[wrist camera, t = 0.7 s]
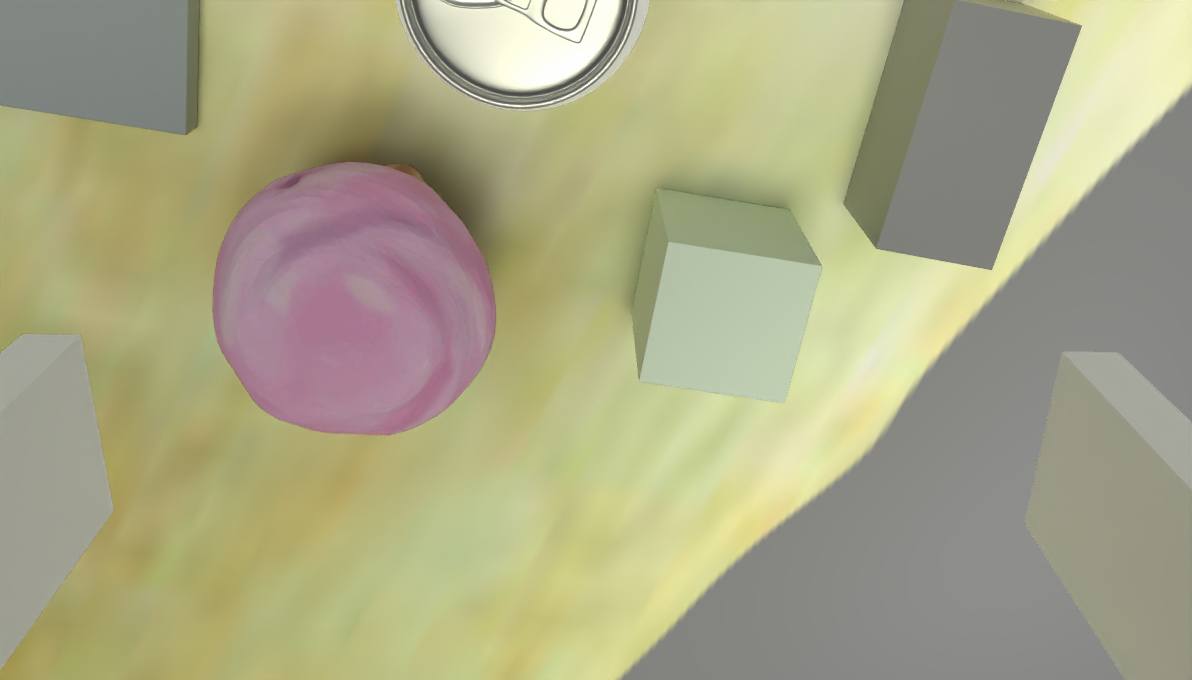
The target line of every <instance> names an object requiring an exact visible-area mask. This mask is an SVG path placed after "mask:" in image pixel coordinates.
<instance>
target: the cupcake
mask: <svg viewBox="0 0 1192 680" xmlns="http://www.w3.org/2000/svg"><path fill="white" fill-rule="evenodd" d="M213 319H214V328H215V333H216V337H217V341H218V344H219V346H220V348H221V351H222V353H223V354H224V356H225V358H226V359H227V361H228V362H229V364H230V365H231V367H232V368H233V370H234V371H235V373H236V375H237V376H238V378H239V379H240V381H241V382H242V384H243V386H244V387H245V389H246V390H247V392H248V393H249V395H250V396H251V398H252V399H253V400H254V402H255V403H256V404H257V405H258V406H259V407H260V408H261V409H263V410H264V411H265V412H267V413H268V414H270V415H272V416H273V417H275V418H277V419H278V420H282V421H285V422H288V423H291V424H295V425H298V426H301V427H304V428H307V429H311V430H315V431H319V432H326V433H344V434H365V435H391V434H395V433H399V432H403V431H407V430H409V429H411V428H414V427H416V426H419V425H421V424H423V423H425V422H426V421H428V420H430V419H432V418H433V417H435V416H437V415H438V414H440V413H441V412H442V411H444V410H445V409H446V408H448V407H449V406H450V405H451V404H452V403H453V402H454V401H455V399H456V398H457V397H458V396H459V395H460V394H461V393H462V392H463V391H464V390H465V388H466V387H467V386H468V385H469V384H470V383H471V382H472V380H473V379H474V378H475V376H476V375H477V374H478V372H479V371H480V369H481V368H482V366H483V364H484V362H485V361H486V359H487V356H488V354H489V352H490V349H491V347H492V343H493V339H494V335H495V326H496V306H495V298H494V292H493V287H492V282H491V278H490V274H489V270H488V267H487V264H486V262H485V259H484V257H483V254H482V252H481V251H480V249H479V247H478V246H477V244H476V243H475V241H474V239H473V238H472V236H471V234H470V233H469V231H468V229H467V228H466V226H465V225H464V224H463V222H462V221H461V220H460V219H459V217H458V216H457V215H456V214H455V213H454V212H453V211H452V210H451V209H450V208H449V207H448V205H447V204H446V203H445V202H444V200H443V199H442V198H441V197H440V196H439V195H438V194H437V193H436V192H435V191H434V190H433V189H432V188H431V187H430V186H428V185H427V184H426V183H425V181H424V179H423V178H422V176H421V175H420V173H419V172H418V171H417V170H416V169H415V168H413V167H411V166H409V165H406V164H391V165H387V166H382V165H377V164H372V163H366V162H343V163H334V164H328V165H324V166H319V167H315V168H312V169H308V170H305V171H302V172H298V173H295V174H291V175H288V176H285V177H282V178H280V179H277V180H275V181H274V182H272V183H271V184H269V185H268V186H266V187H265V188H264V189H262V190H261V191H260V192H259V193H257V194H256V195H255V196H254V197H253V198H252V199H251V200H249V201H248V202H247V204H246V205H245V206H244V207H243V208H242V209H241V211H240V212H239V213H238V214H237V216H236V218H235V219H234V221H233V222H232V224H231V226H230V228H229V230H228V232H227V234H226V236H225V238H224V241H223V243H222V246H221V249H220V252H219V255H218V259H217V264H216V270H215V277H214V288H213Z"/></svg>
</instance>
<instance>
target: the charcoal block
mask: <svg viewBox="0 0 1192 680" xmlns="http://www.w3.org/2000/svg"><path fill="white" fill-rule="evenodd" d="M1081 27H1082V26H1081V25H1079V24H1076V23H1073V22H1070V21H1068V20H1065V19H1062V18H1060V17H1057V16H1054V15H1051V14H1049V13H1046V12H1043V11H1040V10H1038V9H1035V8H1032V7H1030V6H1027V5H1024V4H1021V3H1016V2H1011V1H1006V0H904V4H903V7H902V10H901V14H900V17H899V20H898V24H897V27H896V30H895V34H894V37H893V40H892V44H891V47H890V50H889V54H888V57H887V60H886V64H885V67H884V70H883V74H882V77H881V80H880V84H879V87H878V90H877V94H876V97H875V100H874V104H873V107H872V110H871V114H870V117H869V120H868V124H867V127H866V130H865V134H864V137H863V140H862V144H861V147H860V150H859V154H858V157H857V160H856V164H855V167H854V170H853V174H852V177H851V180H850V184H849V187H848V190H847V194H846V197H845V200H844V205H845V207H846V208H847V209H848V211H849V212H850V213H851V215H852V216H853V218H854V219H855V220H856V222H857V223H858V224H859V226H860V227H861V229H862V230H863V231H864V233H865V234H866V235H867V237H868V238H869V240H870V241H871V242H872V244H873V245H874V246H875V248H876V249H881V250H886V251H892V252H897V253H902V254H908V255H913V256H919V257H924V258H930V259H935V260H940V261H946V262H951V263H957V264H962V265H967V266H973V267H978V268H984V269H989V270H992V268H993V266H994V263H995V260H996V257H997V255H998V252H999V249H1000V247H1001V244H1002V241H1003V238H1004V236H1005V233H1006V230H1007V228H1008V225H1009V222H1010V219H1011V217H1012V214H1013V211H1014V209H1015V206H1016V203H1017V200H1018V198H1019V195H1020V192H1021V190H1022V187H1023V184H1024V181H1025V179H1026V176H1027V173H1028V171H1029V168H1030V165H1031V163H1032V160H1033V157H1034V154H1035V152H1036V149H1037V146H1038V144H1039V141H1040V138H1041V135H1042V133H1043V130H1044V127H1045V125H1046V122H1047V119H1048V116H1049V114H1050V111H1051V108H1052V106H1053V103H1054V100H1055V97H1056V95H1057V92H1058V89H1059V87H1060V84H1061V81H1062V78H1063V76H1064V73H1065V70H1066V68H1067V65H1068V62H1069V59H1070V57H1071V54H1072V51H1073V49H1074V46H1075V43H1076V41H1077V38H1078V35H1079V32H1080V30H1081Z"/></svg>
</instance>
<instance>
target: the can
mask: <svg viewBox="0 0 1192 680" xmlns="http://www.w3.org/2000/svg"><path fill="white" fill-rule="evenodd" d="M395 3H396V7H397V11H398V14H399V17H400V20H401V23H402V25H403V28H404V30H405V32H406V34H407V36H408V38H409V40H410V42H411V44H412V45H413V47H414V49H415V50H416V52H417V53H418V55H419V56H420V57H421V59H422V60H423V61H424V62H425V64H426V65H427V66H428V67H429V68H430V69H431V70H432V71H433V72H434V73H435V74H436V75H437V76H438V77H439V78H440V79H441V80H442V81H444V82H445V83H446V84H447V85H449V86H450V87H452V88H453V89H455V90H456V91H458V92H459V93H461V94H463V95H465V96H467V97H468V98H471V99H473V100H475V101H477V102H480V103H483V104H485V105H489V106H492V107H496V108H500V109H506V110H514V111H536V110H544V109H550V108H554V107H558V106H561V105H564V104H567V103H570V102H572V101H575V100H577V99H579V98H581V97H583V96H585V95H587V94H588V93H590V92H591V91H593V90H594V89H596V88H597V87H599V86H600V85H601V84H603V83H604V82H605V81H606V80H607V79H608V78H609V77H611V76H612V74H613V73H614V72H615V71H616V70H617V69H618V68H619V67H620V66H621V64H622V63H623V62H624V61H625V59H626V58H627V56H628V55H629V53H630V52H631V50H632V49H633V47H634V45H635V43H636V41H637V39H638V37H639V35H640V33H641V30H642V28H643V25H644V22H645V19H646V16H647V12H648V8H649V3H650V0H395Z"/></svg>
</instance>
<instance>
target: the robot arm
mask: <svg viewBox="0 0 1192 680" xmlns="http://www.w3.org/2000/svg"><path fill="white" fill-rule="evenodd" d="M113 511H114V508H113V503H112V498H111V493H110V487H109V482H108V477H107V472H106V466H105V461H104V456H103V450H102V445H101V440H100V435H99V429H98V424H97V419H96V414H95V408H94V403H93V398H92V392H91V387H90V382H89V377H88V371H87V366H86V361H85V355H84V350H83V345H82V340H81V335H52V334H22V335H21V336H20V337H18V338H17V339H16V340H15V341H14V342H13V343H12V344H10V345H9V346H8V347H7V348H6V349H5V350H3V351H2V352H1V353H0V670H1V669H2V667H3V666H4V665H5V663H6V662H7V660H8V659H9V658H10V656H11V655H12V653H13V652H14V651H15V649H16V648H17V646H18V645H19V644H20V642H21V641H22V639H23V638H24V636H25V635H26V634H27V632H28V631H29V629H30V628H31V627H32V625H33V624H34V622H35V621H36V620H37V618H38V617H39V615H40V614H41V613H42V611H43V610H44V608H45V607H46V606H47V604H48V603H49V601H50V600H51V598H52V597H53V596H54V594H55V593H56V591H57V590H58V589H59V587H60V586H61V584H62V583H63V582H64V580H65V579H66V577H67V576H68V575H69V573H70V572H71V570H72V569H73V568H74V566H75V565H76V563H77V562H78V560H79V559H80V558H81V556H82V555H83V553H84V552H85V551H86V549H87V548H88V546H89V545H90V544H91V542H92V541H93V539H94V538H95V537H96V535H97V534H98V532H99V531H100V530H101V528H102V527H103V525H104V524H105V522H106V521H107V520H108V518H109V517H110V515H111V514H112V513H113ZM1025 525H1026V527H1027V528H1028V530H1029V532H1030V533H1031V535H1032V536H1033V538H1034V539H1035V541H1036V542H1037V544H1038V546H1039V547H1040V549H1041V550H1042V552H1043V553H1044V555H1045V556H1046V558H1047V559H1048V561H1049V563H1050V564H1051V566H1052V567H1053V569H1054V570H1055V572H1056V573H1057V575H1058V577H1059V578H1060V580H1061V581H1062V583H1063V584H1064V586H1065V587H1066V589H1067V591H1068V592H1069V594H1070V595H1071V597H1072V598H1073V600H1074V601H1075V603H1076V604H1077V606H1078V608H1079V609H1080V611H1081V612H1082V614H1083V615H1084V617H1085V618H1086V620H1087V622H1088V623H1089V625H1090V626H1091V628H1092V629H1093V631H1094V632H1095V634H1096V636H1097V637H1098V639H1099V640H1100V642H1101V643H1102V645H1103V646H1104V648H1105V649H1106V651H1107V653H1108V654H1109V656H1110V657H1111V659H1112V660H1113V662H1114V664H1115V665H1116V666H1117V668H1118V670H1119V671H1120V673H1121V674H1122V676H1123V678H1124V679H1125V680H1192V422H1191V421H1190V420H1189V419H1188V418H1186V417H1185V416H1184V415H1183V414H1182V413H1181V412H1180V411H1179V410H1178V409H1177V408H1176V407H1175V406H1174V405H1173V404H1172V403H1171V402H1170V401H1169V400H1168V399H1167V398H1166V397H1165V396H1163V395H1162V394H1161V393H1160V392H1159V391H1158V390H1157V389H1156V388H1155V387H1154V386H1153V385H1152V384H1151V383H1150V382H1149V381H1148V380H1147V379H1146V378H1145V377H1144V376H1142V375H1141V374H1140V373H1139V372H1138V371H1137V370H1136V369H1135V368H1134V367H1133V366H1132V365H1131V364H1130V363H1129V362H1127V360H1126V359H1125V358H1124V357H1123V356H1122V355H1121V354H1120V353H1117V352H1116V353H1115V352H1062V354H1061V359H1060V363H1059V368H1058V372H1057V377H1056V382H1055V386H1054V391H1053V396H1052V400H1051V405H1050V409H1049V414H1048V418H1047V423H1046V428H1045V432H1044V437H1043V441H1042V446H1041V450H1040V455H1039V459H1038V464H1037V468H1036V473H1035V478H1034V483H1033V487H1032V492H1031V496H1030V501H1029V505H1028V510H1027V514H1026V519H1025Z"/></svg>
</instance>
